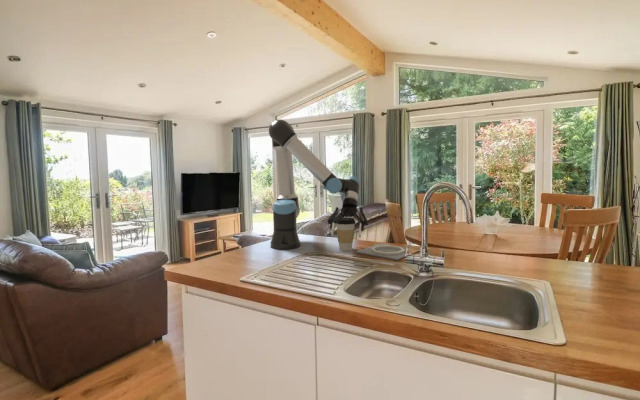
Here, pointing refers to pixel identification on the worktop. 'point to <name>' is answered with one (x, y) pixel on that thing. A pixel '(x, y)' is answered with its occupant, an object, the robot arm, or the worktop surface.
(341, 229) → the coffee cup
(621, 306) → the worktop surface
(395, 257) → the slate board
